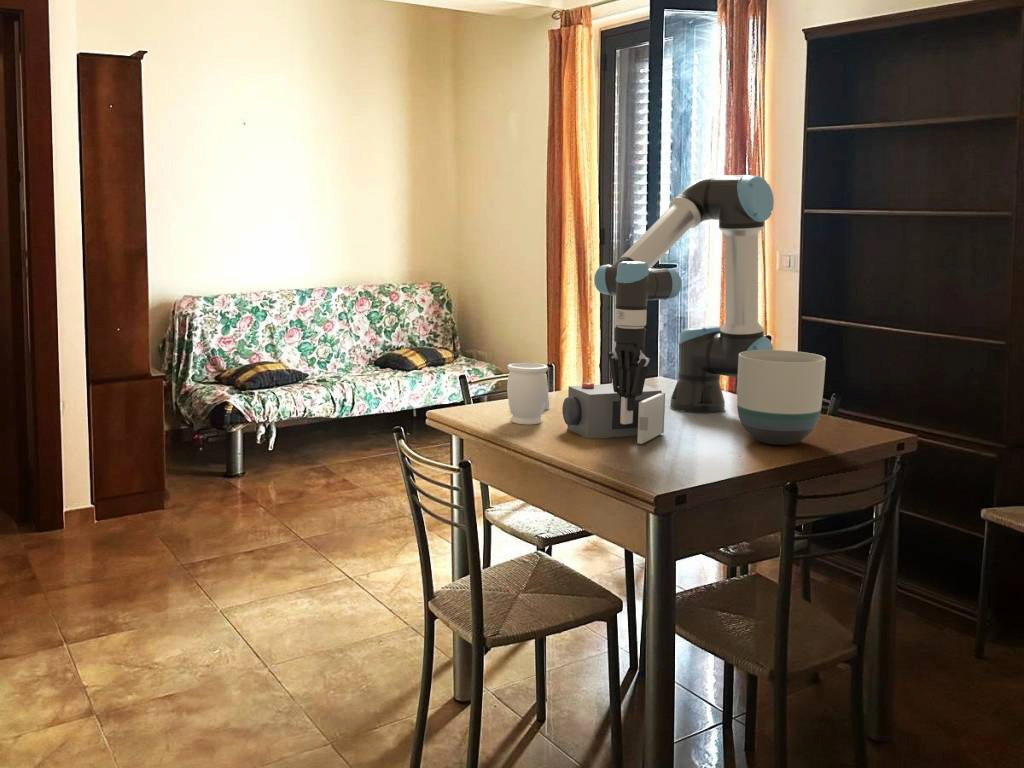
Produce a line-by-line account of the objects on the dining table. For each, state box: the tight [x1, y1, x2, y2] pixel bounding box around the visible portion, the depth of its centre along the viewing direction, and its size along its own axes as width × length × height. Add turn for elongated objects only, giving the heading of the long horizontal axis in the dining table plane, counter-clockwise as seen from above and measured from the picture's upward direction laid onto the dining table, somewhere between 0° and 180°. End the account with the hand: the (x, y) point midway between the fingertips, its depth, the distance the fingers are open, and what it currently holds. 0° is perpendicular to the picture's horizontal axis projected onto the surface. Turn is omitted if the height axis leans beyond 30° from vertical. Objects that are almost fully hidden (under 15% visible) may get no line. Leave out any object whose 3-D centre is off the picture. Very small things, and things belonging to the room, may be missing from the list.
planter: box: [736, 349, 827, 446], centre depth 260 cm, size 20×20×21 cm
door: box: [636, 392, 666, 445], centre depth 261 cm, size 16×2×10 cm, turn 152°
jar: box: [506, 362, 549, 426], centre depth 279 cm, size 11×10×15 cm
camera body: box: [561, 382, 663, 440], centre depth 270 cm, size 22×12×12 cm, turn 112°
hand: (626, 423), depth 261 cm, fingers closed
